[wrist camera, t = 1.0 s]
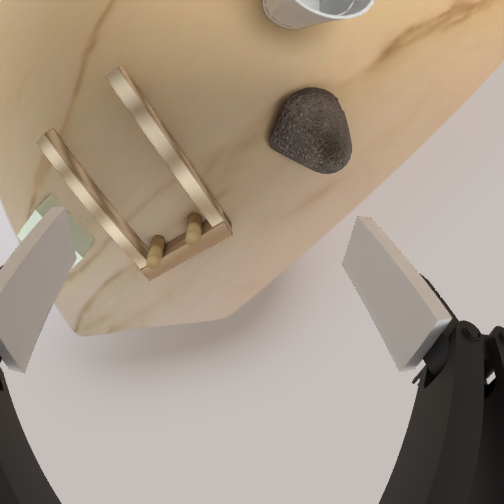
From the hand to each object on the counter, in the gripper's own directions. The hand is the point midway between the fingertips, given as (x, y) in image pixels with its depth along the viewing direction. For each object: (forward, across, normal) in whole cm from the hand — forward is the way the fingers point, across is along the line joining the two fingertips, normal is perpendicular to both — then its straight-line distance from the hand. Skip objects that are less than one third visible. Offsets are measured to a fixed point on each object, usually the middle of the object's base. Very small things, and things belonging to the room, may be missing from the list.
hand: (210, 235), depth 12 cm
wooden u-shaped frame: (+23, -9, -6) cm, 25 cm away
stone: (+23, +11, +2) cm, 26 cm away
